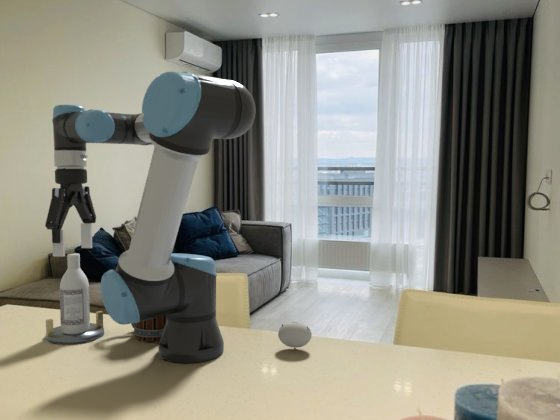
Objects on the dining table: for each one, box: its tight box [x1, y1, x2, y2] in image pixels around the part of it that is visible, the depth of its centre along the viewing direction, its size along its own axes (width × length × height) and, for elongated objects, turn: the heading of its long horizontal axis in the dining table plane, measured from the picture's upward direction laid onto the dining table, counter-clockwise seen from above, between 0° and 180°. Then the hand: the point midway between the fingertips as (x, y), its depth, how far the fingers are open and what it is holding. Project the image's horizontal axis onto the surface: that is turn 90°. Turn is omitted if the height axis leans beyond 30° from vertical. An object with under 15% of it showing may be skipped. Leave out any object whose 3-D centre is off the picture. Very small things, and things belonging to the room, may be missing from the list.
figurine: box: [277, 321, 312, 351], centre depth 126 cm, size 8×6×7 cm
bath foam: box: [59, 252, 91, 335], centre depth 135 cm, size 7×7×20 cm
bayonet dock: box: [45, 310, 105, 346], centre depth 136 cm, size 14×14×5 cm
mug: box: [130, 315, 166, 343], centre depth 137 cm, size 16×11×15 cm
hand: (73, 252), depth 134 cm, fingers open, 13 cm apart
